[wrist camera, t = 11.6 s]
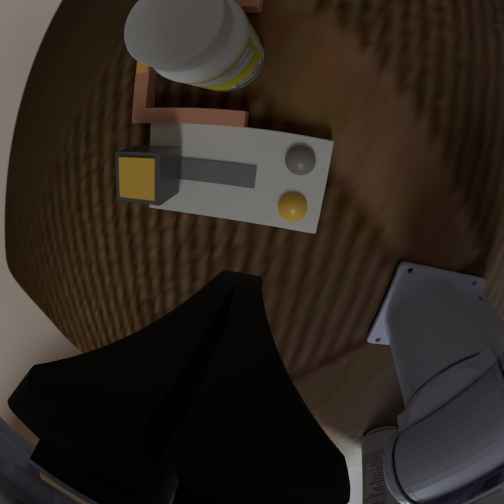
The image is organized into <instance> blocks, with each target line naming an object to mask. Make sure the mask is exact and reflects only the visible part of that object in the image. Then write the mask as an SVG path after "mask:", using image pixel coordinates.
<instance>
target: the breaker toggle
mask: <svg viewBox="0 0 504 504" xmlns="http://www.w3.org/2000/svg"><path fill="white" fill-rule="evenodd" d="M180 154H181V147H176V146H155V145H138V146H134V147H131V148H127V149H123V150H120V151H117V152H116V184H117V201H125V202H134V203H141V204H149V205H157V206H161V205H162V204H163V203H165V202H166V201H167V200H169V199H170V198H172V197H173V196H174V195H176V194H177V193H179V177H180Z"/></svg>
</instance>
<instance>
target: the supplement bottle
mask: <svg viewBox="0 0 504 504" xmlns="http://www.w3.org/2000/svg"><path fill="white" fill-rule="evenodd" d="M124 39H125V44H126V47H127V49H128V51H129V53H130V54H131V56H132V57H133V58H134V59H136V60H137V61H138V62H140V63H142V64H144V65H147V66H150V67H153V68H154V69H155V70H156V71H157V72H158V73H159V74H160V75H162V76H163V77H165V78H167V79H170V80H173V81H176V82H180V83H184V84H189V85H194V86H198V87H202V88H206V89H211V90H215V91H232V90H236V89H239V88H241V87H243V86H245V85H247V84H249V83H250V82H251V81H252V80H253V79H254V78H255V77H256V76H257V75H258V74H259V72H260V70H261V68H262V66H263V62H264V48H263V45H262V42H261V40H260V38H259V37H258V35H257V33H256V31H255V30H254V28H253V26H252V25H251V23H250V21H249V19H248V18H247V16H246V14H245V12H244V10H243V9H242V7H241V6H240V5H239V4H238V3H237V2H236V1H234V0H139V1H138V2H137V3H136V4H135V5H134V7H133V8H132V10H131V12H130V14H129V16H128V18H127V21H126V24H125V29H124Z"/></svg>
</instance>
